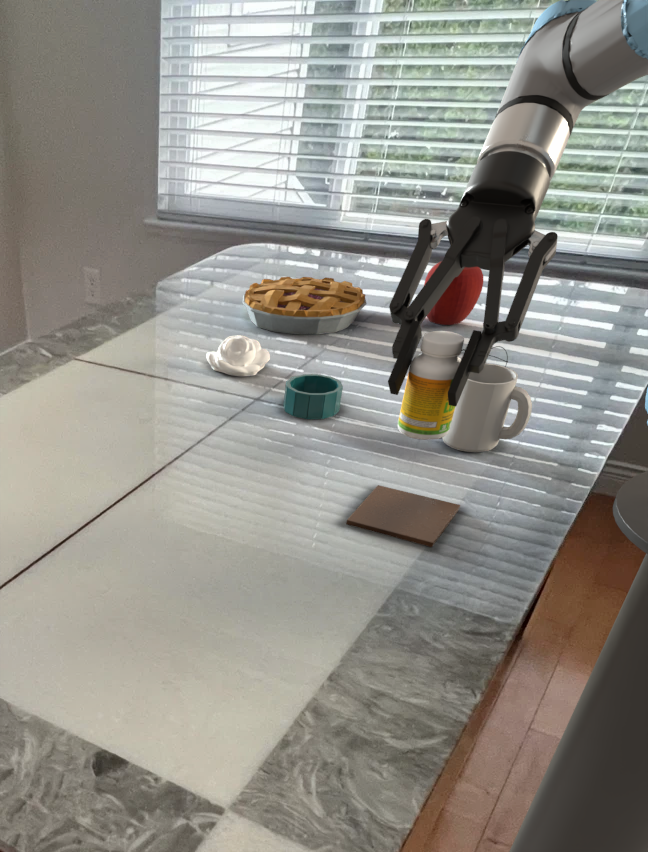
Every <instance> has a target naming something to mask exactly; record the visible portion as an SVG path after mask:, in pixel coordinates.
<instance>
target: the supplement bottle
mask: <svg viewBox="0 0 648 852" xmlns="http://www.w3.org/2000/svg"><path fill="white" fill-rule="evenodd" d="M464 343H465V337H464V336H463V335H461V334H459V333H457V332H453V331H447V330H433V331H428V332H426V333H424V334H423V335H422V338H421V342H420V352H421V353H419V354H417V355H416V356H414V357H413V359H412V361H411V364H410V366H409V369H408V371H407V378H406V382H405V387H404V392H403V396H402V401H401V405H400V411H399V416H398V420H397V430H398V431H399V432H400V433H401V434H403V435H404V436H406V437H408V438H411V439H415V440H423V441H426V440H427V441H431V440H432V441H433V440H440V439H443V438H442V437H444V436H446V435H447V434H448V432H449V429H450V426H451V422H452V418H453V414H454V410H455V406H451V405H449V402H448V390H449V388H450V386H451V383H452V381H453V378H454V376H455V374H456V371H457V369H458V366H459V364H460V361H461V359H462V358H461V357H459V356H460V355H461V354H462V352H463V351H462V350H463V347H464ZM461 351H462V352H461Z"/></svg>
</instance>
